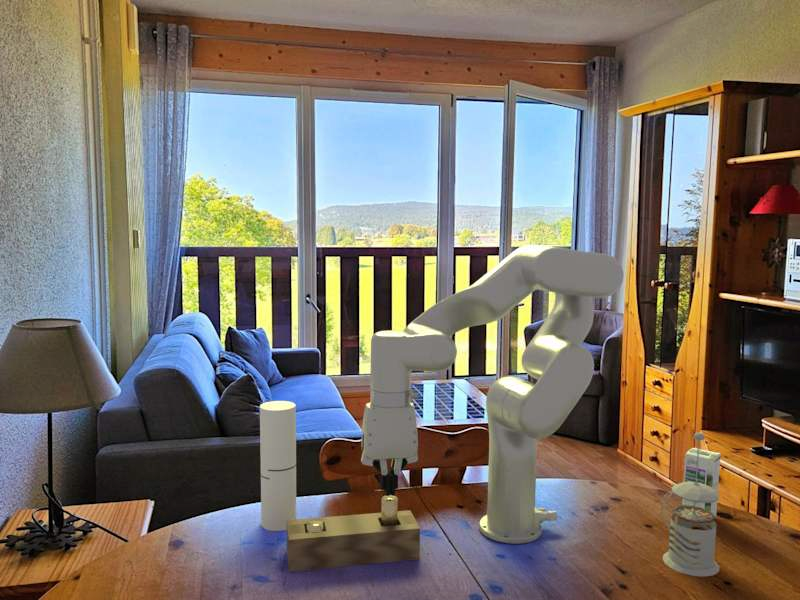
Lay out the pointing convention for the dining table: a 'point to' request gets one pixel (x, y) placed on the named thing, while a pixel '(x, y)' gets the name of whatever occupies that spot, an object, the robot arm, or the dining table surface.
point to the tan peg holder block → (352, 541)
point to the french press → (692, 554)
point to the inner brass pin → (389, 511)
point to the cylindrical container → (278, 464)
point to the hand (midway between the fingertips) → (389, 492)
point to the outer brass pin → (314, 526)
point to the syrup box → (702, 474)
